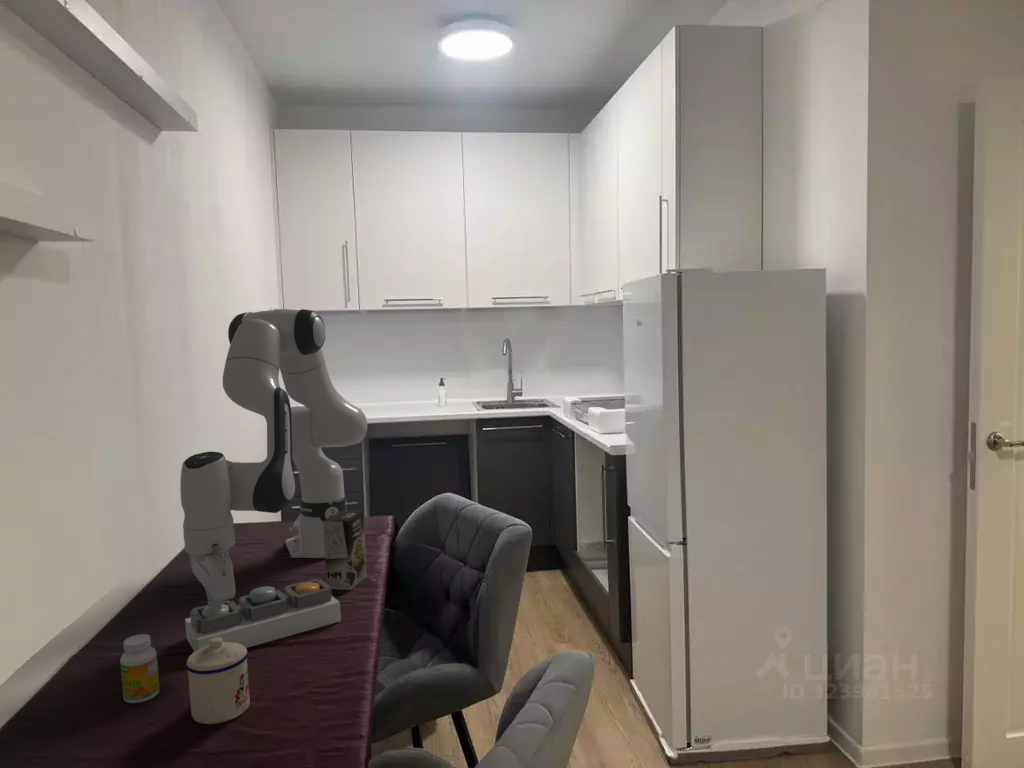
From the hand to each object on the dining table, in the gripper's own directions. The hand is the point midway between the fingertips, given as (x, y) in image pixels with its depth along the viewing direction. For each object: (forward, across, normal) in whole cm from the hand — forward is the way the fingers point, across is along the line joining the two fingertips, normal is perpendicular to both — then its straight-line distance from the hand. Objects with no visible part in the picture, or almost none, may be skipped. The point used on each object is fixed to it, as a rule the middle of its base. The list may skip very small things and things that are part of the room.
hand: (215, 609), depth 139 cm
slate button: (+1, 0, -9) cm, 9 cm away
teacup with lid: (+7, -25, +5) cm, 26 cm away
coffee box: (+7, +14, -32) cm, 36 cm away
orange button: (+2, 0, -18) cm, 18 cm away
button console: (+7, 0, -9) cm, 11 cm away
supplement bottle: (+7, -13, +15) cm, 21 cm away
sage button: (+2, 0, 0) cm, 2 cm away
